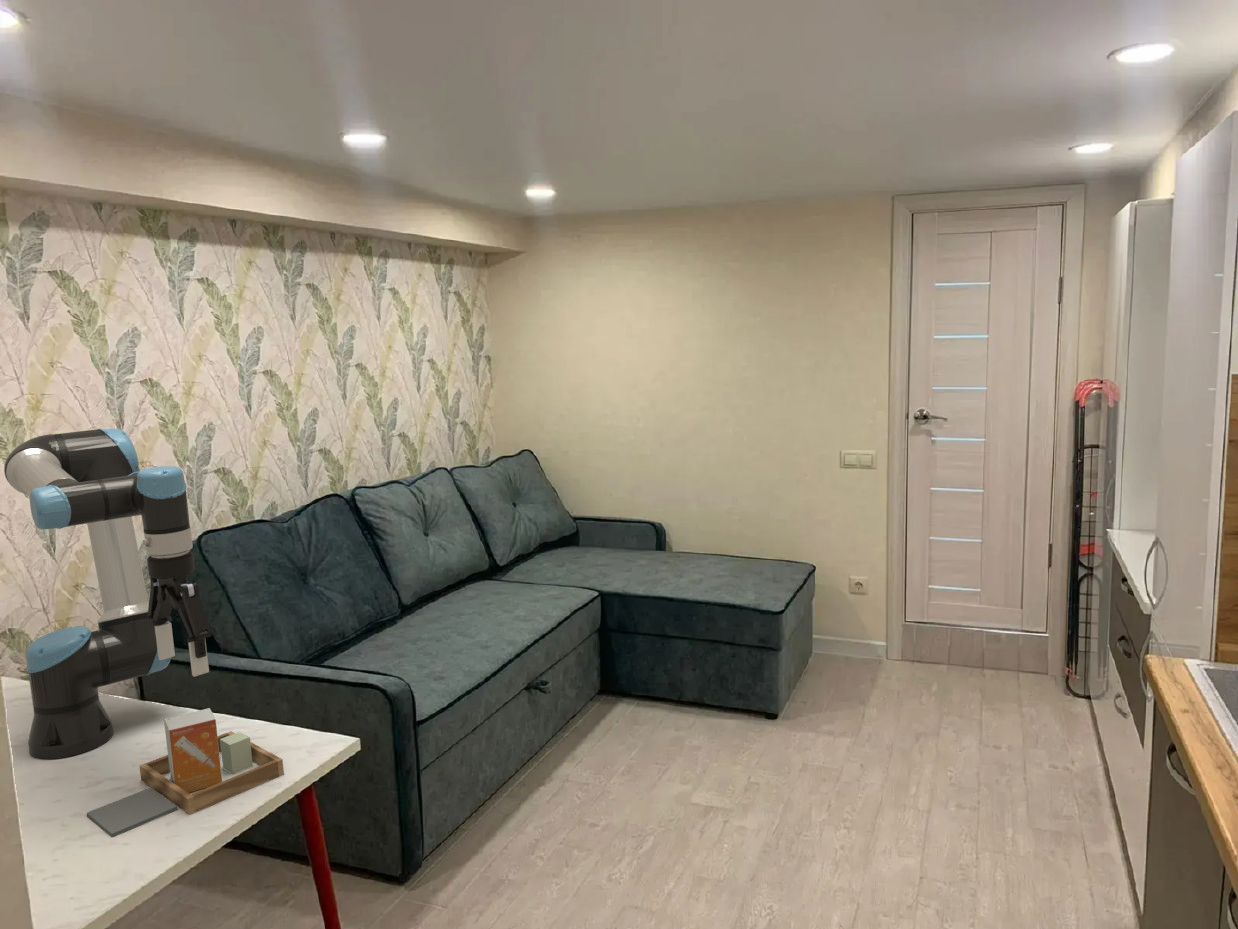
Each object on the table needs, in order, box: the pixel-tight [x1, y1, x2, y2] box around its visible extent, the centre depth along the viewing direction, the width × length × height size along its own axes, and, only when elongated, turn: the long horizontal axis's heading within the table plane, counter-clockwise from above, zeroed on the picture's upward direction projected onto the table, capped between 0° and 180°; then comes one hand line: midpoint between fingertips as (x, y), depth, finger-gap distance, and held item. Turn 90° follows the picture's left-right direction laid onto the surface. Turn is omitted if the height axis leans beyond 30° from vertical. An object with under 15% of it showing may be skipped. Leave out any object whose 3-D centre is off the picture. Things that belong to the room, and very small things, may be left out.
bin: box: [139, 730, 285, 815], centre depth 175 cm, size 20×18×3 cm
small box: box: [163, 707, 223, 794], centre depth 172 cm, size 8×6×13 cm
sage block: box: [220, 731, 254, 775], centre depth 179 cm, size 4×4×6 cm
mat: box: [86, 786, 179, 838], centre depth 164 cm, size 11×11×1 cm
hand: (183, 665), depth 169 cm, fingers open, 13 cm apart
